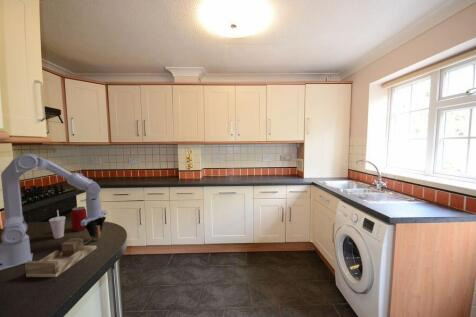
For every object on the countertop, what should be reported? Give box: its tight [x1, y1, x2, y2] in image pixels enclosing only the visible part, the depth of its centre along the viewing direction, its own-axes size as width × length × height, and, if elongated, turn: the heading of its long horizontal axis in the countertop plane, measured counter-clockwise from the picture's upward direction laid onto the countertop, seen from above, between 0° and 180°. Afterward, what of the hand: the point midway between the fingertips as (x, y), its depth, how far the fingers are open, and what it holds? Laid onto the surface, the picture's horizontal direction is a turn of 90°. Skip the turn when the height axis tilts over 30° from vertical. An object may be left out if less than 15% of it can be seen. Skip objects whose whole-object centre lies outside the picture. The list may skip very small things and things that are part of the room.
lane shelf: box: [24, 245, 98, 278], centre depth 83 cm, size 20×11×5 cm, turn 178°
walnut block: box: [61, 225, 102, 256], centre depth 93 cm, size 17×5×6 cm, turn 178°
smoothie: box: [48, 209, 66, 239], centre depth 105 cm, size 6×6×14 cm
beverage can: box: [70, 206, 87, 232], centre depth 114 cm, size 7×7×12 cm
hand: (95, 234), depth 100 cm, fingers open, 4 cm apart
